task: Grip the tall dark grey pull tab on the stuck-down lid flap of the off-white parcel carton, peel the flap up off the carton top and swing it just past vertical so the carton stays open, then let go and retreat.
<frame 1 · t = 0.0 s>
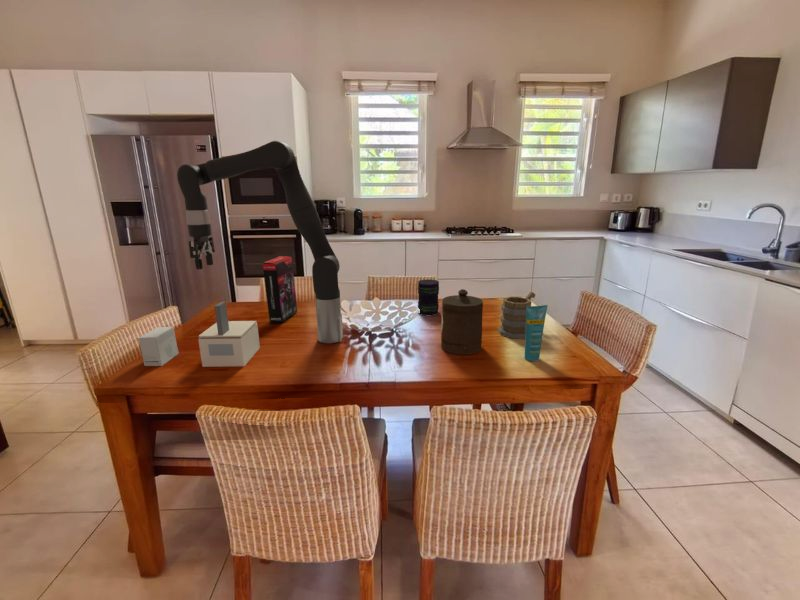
hand: (205, 267, 150), 29 cm above the table, fingers open, 8 cm apart
flap: (227, 315, 139), point 15 cm above the table, hinge at 0.0°
skincare box: (161, 360, 141), on the table
storage jar: (428, 312, 191), on the table
carton: (232, 356, 143), on the table
tube: (532, 359, 139), on the table
wooden container: (460, 347, 150), on the table
tankard: (519, 331, 166), on the table
graphics card box: (283, 318, 185), on the table
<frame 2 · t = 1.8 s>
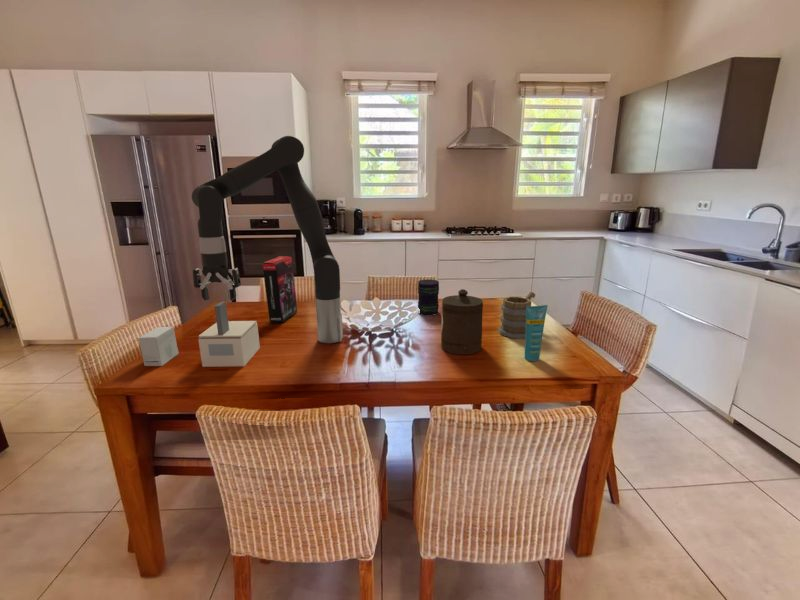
hand: (219, 299, 133), 22 cm above the table, fingers open, 8 cm apart
nothing on the table moved.
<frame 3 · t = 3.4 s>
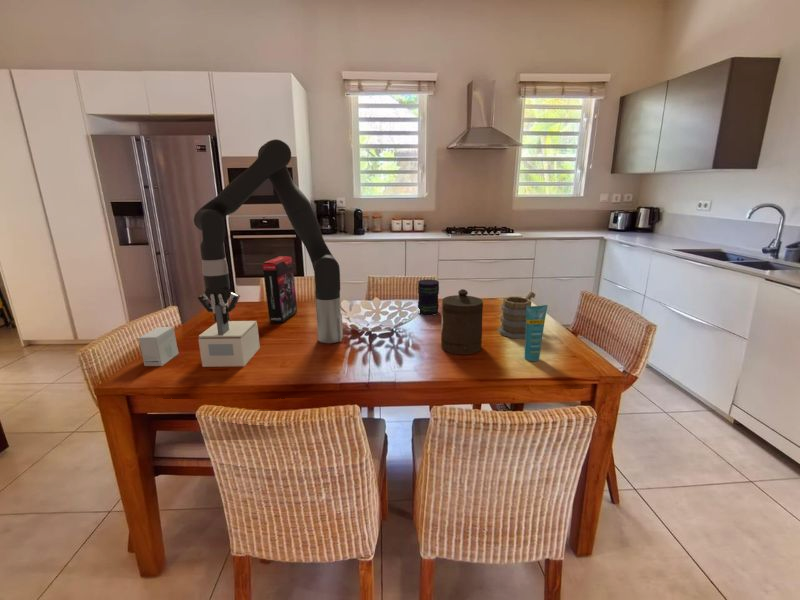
hand: (222, 323, 135), 14 cm above the table, fingers closed on flap
flap: (227, 315, 139), point 16 cm above the table, hinge at 0.0°, touching gripper
everything else where it was.
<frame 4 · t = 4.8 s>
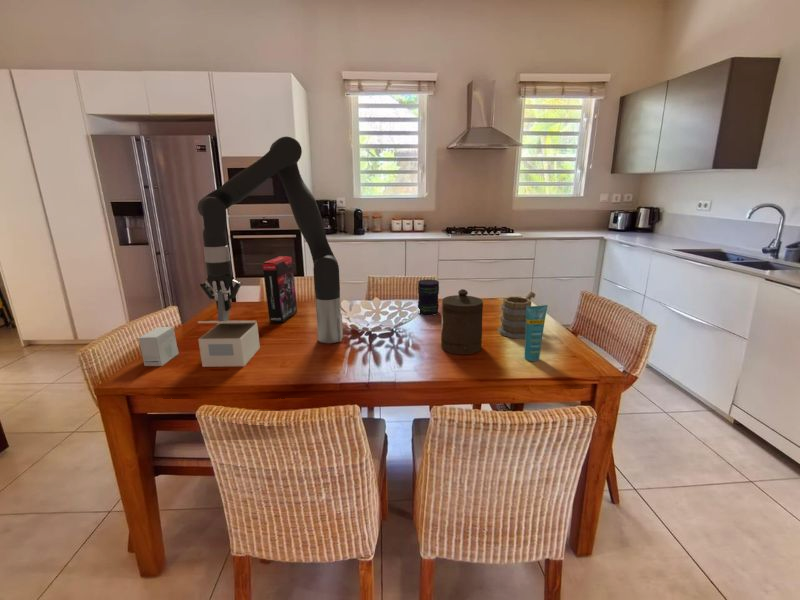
hand: (224, 310, 136), 18 cm above the table, fingers closed on flap
flap: (228, 307, 140), point 18 cm above the table, hinge at 18.2°, touching gripper
everything else where it was.
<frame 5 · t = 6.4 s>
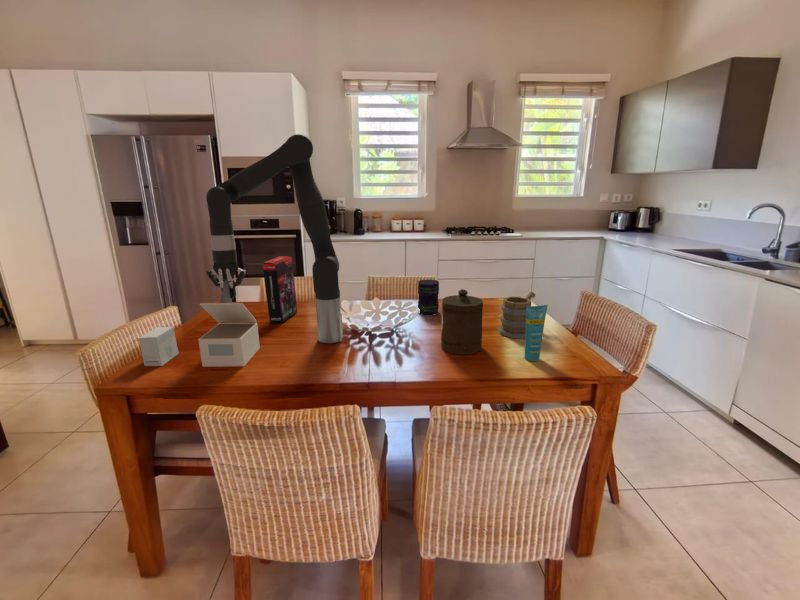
hand: (229, 297, 140), 21 cm above the table, fingers closed on flap
flap: (232, 300, 143), point 19 cm above the table, hinge at 41.6°, touching gripper
everything else where it was.
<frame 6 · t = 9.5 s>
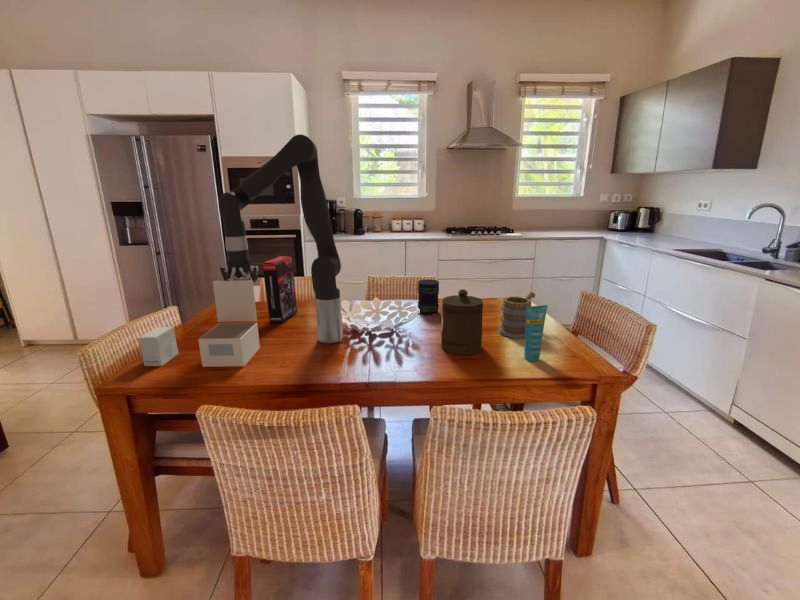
hand: (242, 293, 152), 19 cm above the table, fingers open, 5 cm apart
flap: (240, 297, 150), point 18 cm above the table, hinge at 91.1°
everything else where it was.
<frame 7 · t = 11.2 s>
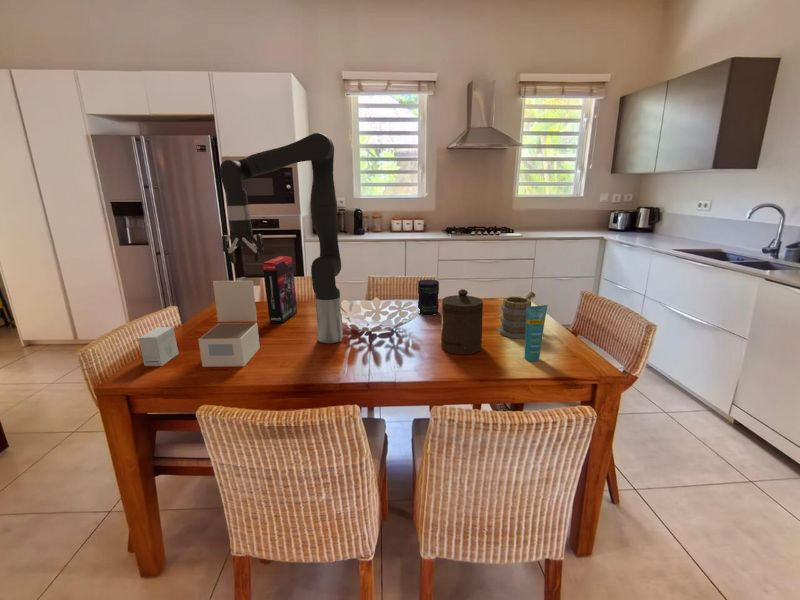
hand: (245, 262, 150), 31 cm above the table, fingers open, 8 cm apart
nothing on the table moved.
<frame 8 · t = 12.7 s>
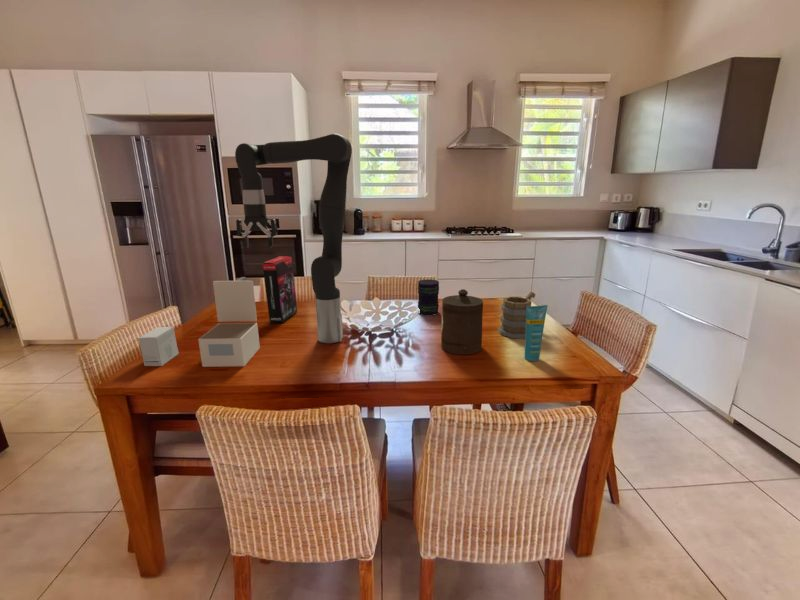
hand: (258, 247, 150), 36 cm above the table, fingers open, 8 cm apart
nothing on the table moved.
at the end: flap at +91° (first picture: +0°); the gripper is holding nothing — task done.
